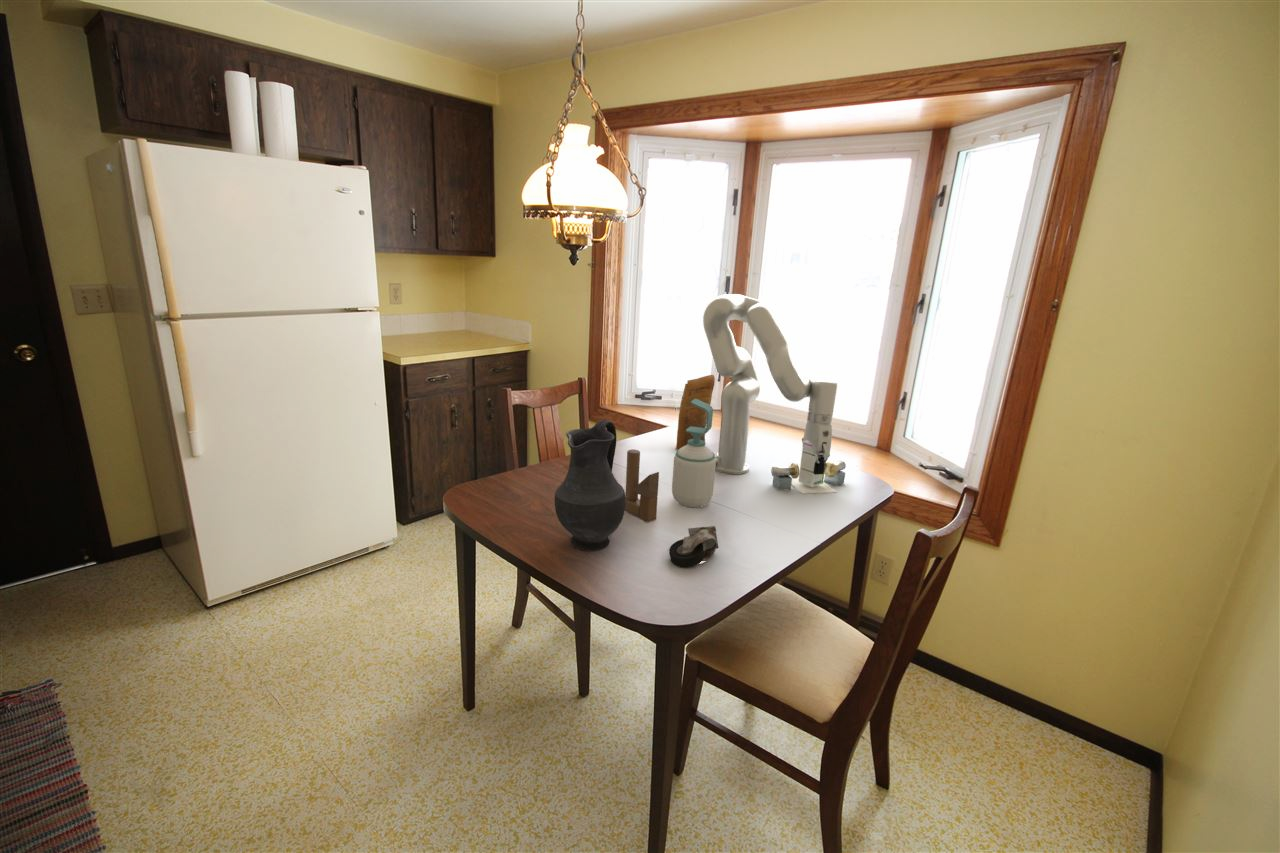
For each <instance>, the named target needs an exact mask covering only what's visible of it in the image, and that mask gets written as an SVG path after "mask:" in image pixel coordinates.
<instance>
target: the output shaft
mask: <svg viewBox="0 0 1280 853" xmlns="http://www.w3.org/2000/svg"><path fill="white" fill-rule="evenodd" d="M846 467H847V466H846V462H845V461H843V460H838V461H836V462H831V461H828V462H827V461H826V465H825V472H824V479H823V482H824V483H826V484H827V483H828V484H830V485H833V486H836V487H839V486H841V484H842V485H844V484H843V483H845V479H846V478H845V477H846V472H845V471H843V470H845V468H846Z"/></svg>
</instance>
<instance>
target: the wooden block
mask: <svg viewBox="0 0 1280 853" xmlns="http://www.w3.org/2000/svg"><path fill="white" fill-rule="evenodd" d="M640 458H641V451H640V450H639V449H628V450H627V452H626V471H625V472H626V474H625V475H626V476H625V498H626V504H625V513H628V514H630V515H632V516H634V517H636V518H638V519H640V520H642V521H643V522H645V523H651V522H653V521H656V520H657V510H658V499H659V498H658V495H659V494H658V493H659V480H660V479H659V477H660V472H659V471H657V472H655V473H651V474H648V475H647V476H646V477H645V478H644V479H643V480H642V481H640V460H641V459H640ZM639 495H640V496H639Z"/></svg>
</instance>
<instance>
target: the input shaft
mask: <svg viewBox="0 0 1280 853" xmlns="http://www.w3.org/2000/svg"><path fill="white" fill-rule="evenodd" d="M799 473H800V467H799V465H798V463H796V462H793V463H791V464H790V466H772V467H771V476H772V477H773V478H772V485H773V486H774V487H775V488H776V489H777V490H778V491H791V489H792V488H791V487H792V485H791V482H792V479H797V478H799Z"/></svg>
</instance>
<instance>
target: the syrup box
mask: <svg viewBox="0 0 1280 853" xmlns="http://www.w3.org/2000/svg"><path fill="white" fill-rule="evenodd" d="M801 449H802V450H801V457H800V464H799V465H800V467H799V476H798V478H799V482H800V483H803V484H805V485H808V486H810V487H814V486H817V485H820V484H823V482H824V478H825V474H824V472H825V465H826V463H827V462H826V463H825V465H824V472H823V474H814V473H813V472H814V465H815V462H816V454H814V453H813V452H812V444H811V442H809V441H803V443H802V448H801ZM819 453H822V451H819ZM821 457H822V455H819V459H820V458H821Z"/></svg>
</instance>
